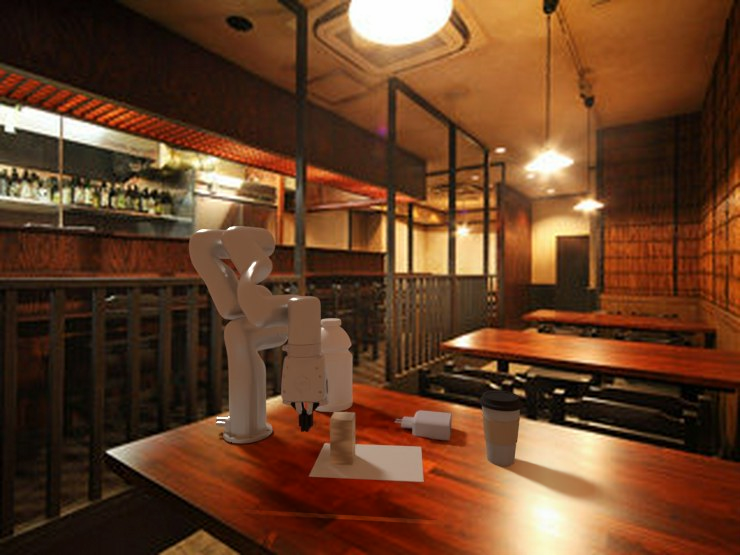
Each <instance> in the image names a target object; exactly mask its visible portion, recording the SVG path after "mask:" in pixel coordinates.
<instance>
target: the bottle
mask: <svg viewBox="0 0 740 555" xmlns="http://www.w3.org/2000/svg"><path fill="white" fill-rule="evenodd" d="M341 326H342V320H341V319H340V318H337V317H336V318H331V317H330V318H329V317H328V318H323V319H322V318H321V355H324V358H325V362H326V369H327V377H328V394H327V395H328V399H329V403H328V404H327V405H324V406H319V407H317V408H316V409H315V410H314V411H317V412H322V413H334V412H344V411H346V410H348V409H350V408H351V407H352V406H353V404H354V403H353V402H354V397H353V359H354V358H353V353H352V352H351V351H350V350H349V349H350V348H351V346H352V341H351V338H350V336H349V334H348V333H347V332H346V330H344V328H342V327H341Z"/></svg>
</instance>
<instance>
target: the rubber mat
mask: <svg viewBox="0 0 740 555" xmlns="http://www.w3.org/2000/svg"><path fill="white" fill-rule="evenodd" d="M422 452H423V451H422V446H414V445H413V446H412V445H411V446H410V445H390V444H389V445H387V444H386V445H385V444H384V445H383V444H361V443H357V444H356V443H355V458H354V461H353V465H336V464H330V442H329V443H328V442H325V443H324V444H323V446H322V448H321V450H320V452H319V454H318V456H317V458H316V460H315V462H314V463H313V464H314V465H313V467H312V469H311V471H310V473H309V475H308V477H310V478H311V477H312V478H331V479H332V478H333V479H334V478H335V479H350V480H352V479H354V480H374V481H375V480H376V481H395V482H413V483H414V482H415V483H418V482H419V483H424V481H425V480H424V468H423V453H422Z"/></svg>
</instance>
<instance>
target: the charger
mask: <svg viewBox="0 0 740 555" xmlns="http://www.w3.org/2000/svg"><path fill="white" fill-rule="evenodd" d="M452 417H453V416H452V413H451V412H441V411H429V410H421V409H420V410H417V411H416V412H415V413H414V416H403V417H402V418H401V419H399V418H396V419H395V421H394V423H395V424H400V427H401V428H403V429H411V431H412V432H411V434H412V435H413V436H415V437H421V438H422V437H423V438H428V440H438V441H447V442H449V441H450V438H451V433H452V427H453V425H452V420H453V419H452Z"/></svg>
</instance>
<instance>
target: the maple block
mask: <svg viewBox="0 0 740 555" xmlns="http://www.w3.org/2000/svg"><path fill="white" fill-rule="evenodd" d="M329 443H330V464H336V465H353V461H354V458H355V444H356V412H353V411H352V412H351V411H349V412H348V411H339V412H332V415H331V417H330V419H329Z"/></svg>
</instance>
